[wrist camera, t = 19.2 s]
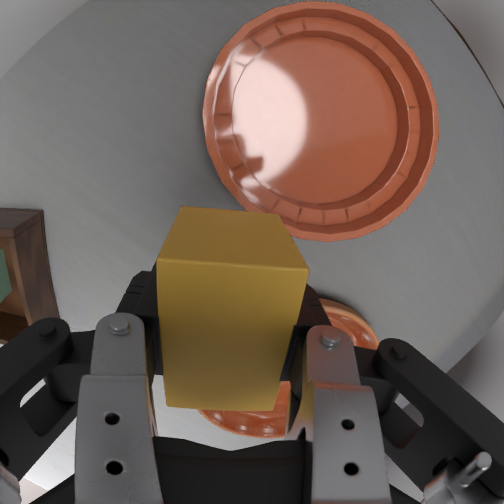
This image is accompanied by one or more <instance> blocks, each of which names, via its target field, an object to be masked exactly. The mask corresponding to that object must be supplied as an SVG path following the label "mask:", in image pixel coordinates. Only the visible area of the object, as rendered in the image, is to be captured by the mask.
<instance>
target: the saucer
mask: <svg viewBox="0 0 504 504" xmlns="http://www.w3.org/2000/svg"><path fill="white" fill-rule="evenodd" d="M319 300H320V302H321V304H322V307H323V308H324V310H325V312H326V314H327V316H328V318H329V320H330V322H331V324H332V326H334V327H337V328H339V329H341V330H343V331H344V332H346V333H347V334H348V335H349V336H350V337H351V339H352V342H353V345H354V346H358V347H363V348H368V349H373V350H376V349H377V347H378V345H379V341H378V338H377V336H376V334H375V332H374V331H373V329H372V328H371V327H370V326H369V324H368V323H367V322H366V320H365V319H364V318H363V317H362V316H361V315H359V314H358V313H357V312H356V311H354V310H353V309H351V308H349V307H347V306H345V305H343V304H340V303H337V302H334V301H331V300H327V299H321V298H319ZM290 388H291V385H290V381H281V384H280V387H279V391H278V394H277V398H276V401H275V405H274V408H273V410H272V411H224V410H204V409H197V410H198V411H199V412H200V413H201V414H202V415H203V416H204V417H205V418H206V419H207V420H208V421H210V422H211V423H213V424H214V425H216V426H218V427H220V428H222V429H224V430H226V431H229V432H232V433H235V434H238V435H243V436H248V437H255V438H280V437H285V426H286V415H287V402H288V394H289V391H290Z"/></svg>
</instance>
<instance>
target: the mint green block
mask: <svg viewBox="0 0 504 504" xmlns="http://www.w3.org/2000/svg"><path fill="white" fill-rule="evenodd" d="M11 291H12V287H11V283H10V279H9V274H8V269H7V265H6V260H5V254H4V249H2V248H0V303H1V302H2V301H3V300H4V299H5V298H6V297H7V296H8V295H9V293H10V292H11Z"/></svg>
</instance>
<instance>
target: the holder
mask: <svg viewBox="0 0 504 504" xmlns="http://www.w3.org/2000/svg"><path fill="white" fill-rule="evenodd" d="M0 248H2V249H4V254H5V260H6V265H7V269H8V274H9V279H10V283H11V287H12V291H11V292H10V293H9V295H8V296H7V297H6V298H5V299H4V300H3V301H2V302H1V303H0V344H3V345H5V344H6V343H7V342H9V341H10V340H11V339H13V338H14V337H15V336H17V335H18V334H19V333H21V332H22V331H23V330H25V329H26V328H27V327H29V326H30V325H32V324H33V323H34V322H36V321H38V320H40V319H43V318H48V317H55V318H60V317H59V313H58V309H57V304H56V300H55V295H54V290H53V285H52V279H51V273H50V267H49V261H48V254H47V246H46V238H45V229H44V218H43V210H29V209H10V208H0Z"/></svg>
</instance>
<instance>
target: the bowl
mask: <svg viewBox="0 0 504 504" xmlns="http://www.w3.org/2000/svg"><path fill="white" fill-rule="evenodd" d="M202 119H203V126H204V133H205V140H206V146H207V150H208V153H209V155H210V157H211V159H212V162H213V164H214V166H215V168H216V171H217V173H218V175H219V177H220V180H221V181H222V183H223V184H224V185H225V186H226V188H227V189H228V190H229V191H230V192H231V194H232V195H233V196H234V197H235V199H236V200H237V201H238V202H239V204H240V205H241V206H242V207H243V208H244V209H245V210H247V211H249V212H259V213H270V214H278V215H279V216H280V218H281V220H282V222H283V223H284V225H285V227H286V229H287V230H288V232H289V234H290V235H291V236H294V237H296V238H300V239H307V240H316V241H324V242H332V241H339V240H346V239H353V238H358V237H361V236H363V235H366V234H368V233H370V232H373V231H375V230H377V229H380V228H382V227H384V226H385V225H387V224H388V223H389V222H391V221H392V220H393V219H395V218H396V217H397V216H398V215H400V214H401V213H402V212H404V211H405V209H407V208H408V207H409V205H410V204H411V203H412V201H413V200H414V199H415V198H416V196H417V195H418V194H419V193H420V191H421V190H422V189H423V187H424V185H425V182H426V180H427V178H428V176H429V174H430V171H431V169H432V167H433V165H434V161H435V156H436V151H437V145H438V140H439V120H438V106H437V102H436V98H435V95H434V91H433V88H432V85H431V82H430V79H429V77H428V75H427V73H426V71H425V70H424V68H423V66H422V64H421V63H420V61H419V59H418V58H417V56H416V54H415V53H414V51H413V50H412V49H411V48H410V47H409V46H408V45H407V44H406V43H405V42H404V40H403V39H402V38H401V37H400V36H399V35H398V34H397V33H396V32H395V31H393V30H392V29H391V28H389V27H388V26H386V25H385V24H383V23H382V22H380V21H379V20H377V19H376V18H374V17H372V16H371V15H369V14H367V13H365V12H363V11H360V10H357V9H354V8H351V7H348V6H345V5H342V4H339V3H330V2H314V1H305V2H299V3H294V4H289V5H285V6H281V7H276V8H273V9H271V10H269V11H267V12H265V13H263V14H262V15H260V16H258V17H256V18H255V19H253V20H251V21H249V22H248V23H246V24H245V25H243V26H242V27H241V28H240V29H239V30H238V32H237V33H236V34H235V35H234V36H233V37H232V38H231V39H230V40H229V41H228V42H227V43H226V44H225V46H224V47H223V48H222V49H221V51H220V53H219V55H218V57H217V59H216V61H215V63H214V65H213V67H212V69H211V72H210V74H209V76H208V78H207V82H206V88H205V95H204V102H203V109H202Z"/></svg>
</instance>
